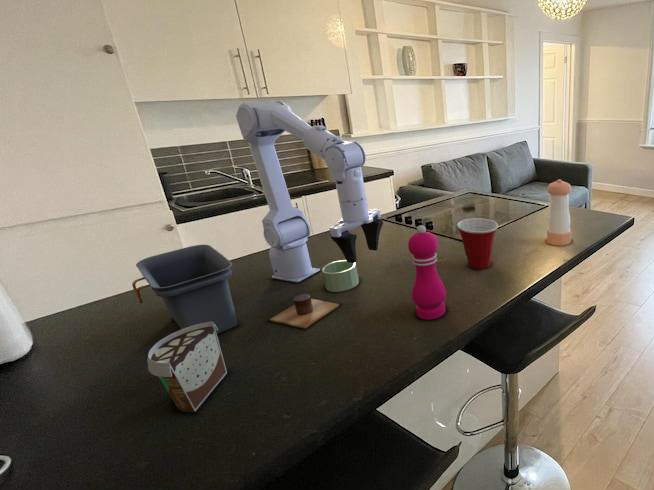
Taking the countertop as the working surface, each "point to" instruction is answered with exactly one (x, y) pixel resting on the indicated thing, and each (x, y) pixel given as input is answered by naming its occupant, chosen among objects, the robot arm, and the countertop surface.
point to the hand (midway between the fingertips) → (362, 255)
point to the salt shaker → (559, 213)
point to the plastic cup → (478, 240)
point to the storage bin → (191, 285)
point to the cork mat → (306, 318)
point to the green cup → (340, 276)
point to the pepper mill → (426, 275)
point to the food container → (188, 364)
